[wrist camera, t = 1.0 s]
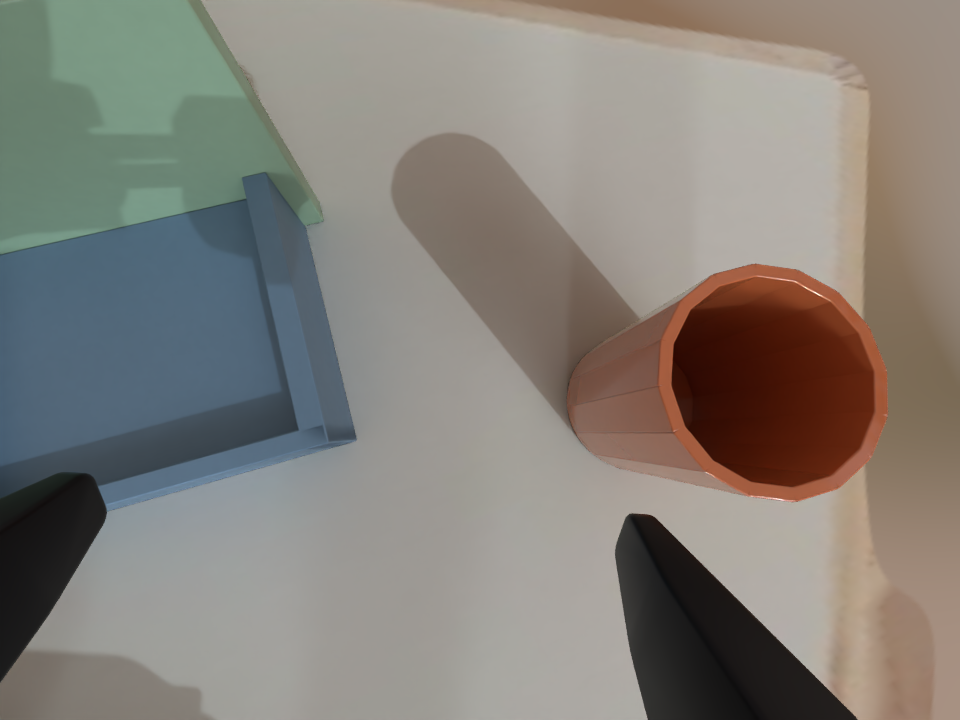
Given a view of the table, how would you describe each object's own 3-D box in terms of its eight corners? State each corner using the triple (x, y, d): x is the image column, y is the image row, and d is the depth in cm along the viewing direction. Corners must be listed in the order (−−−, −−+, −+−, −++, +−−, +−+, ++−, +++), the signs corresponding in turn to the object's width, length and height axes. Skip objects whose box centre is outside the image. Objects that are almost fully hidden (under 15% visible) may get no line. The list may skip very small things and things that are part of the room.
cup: (720, 414, 23) (934, 399, 13) (624, 496, 22) (771, 553, 12) (636, 314, 24) (777, 222, 13) (539, 390, 23) (610, 356, 12)
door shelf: (377, 434, 22) (269, 438, 9) (31, 532, 21) (-676, 700, 8) (319, 200, 24) (160, -70, 11) (-5, 275, 22) (-629, 62, 9)
